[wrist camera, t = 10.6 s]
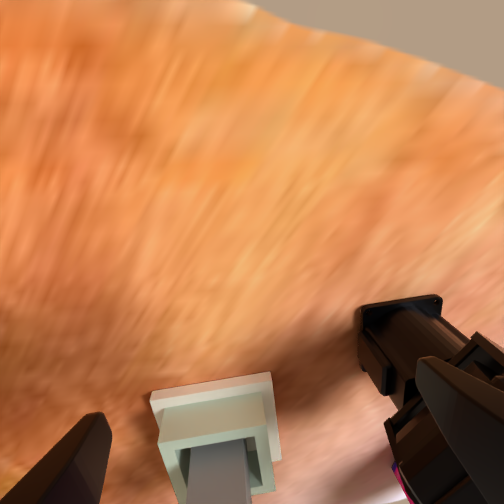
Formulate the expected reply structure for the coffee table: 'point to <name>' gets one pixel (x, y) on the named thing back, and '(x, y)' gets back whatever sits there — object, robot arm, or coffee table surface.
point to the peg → (219, 474)
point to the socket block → (218, 425)
